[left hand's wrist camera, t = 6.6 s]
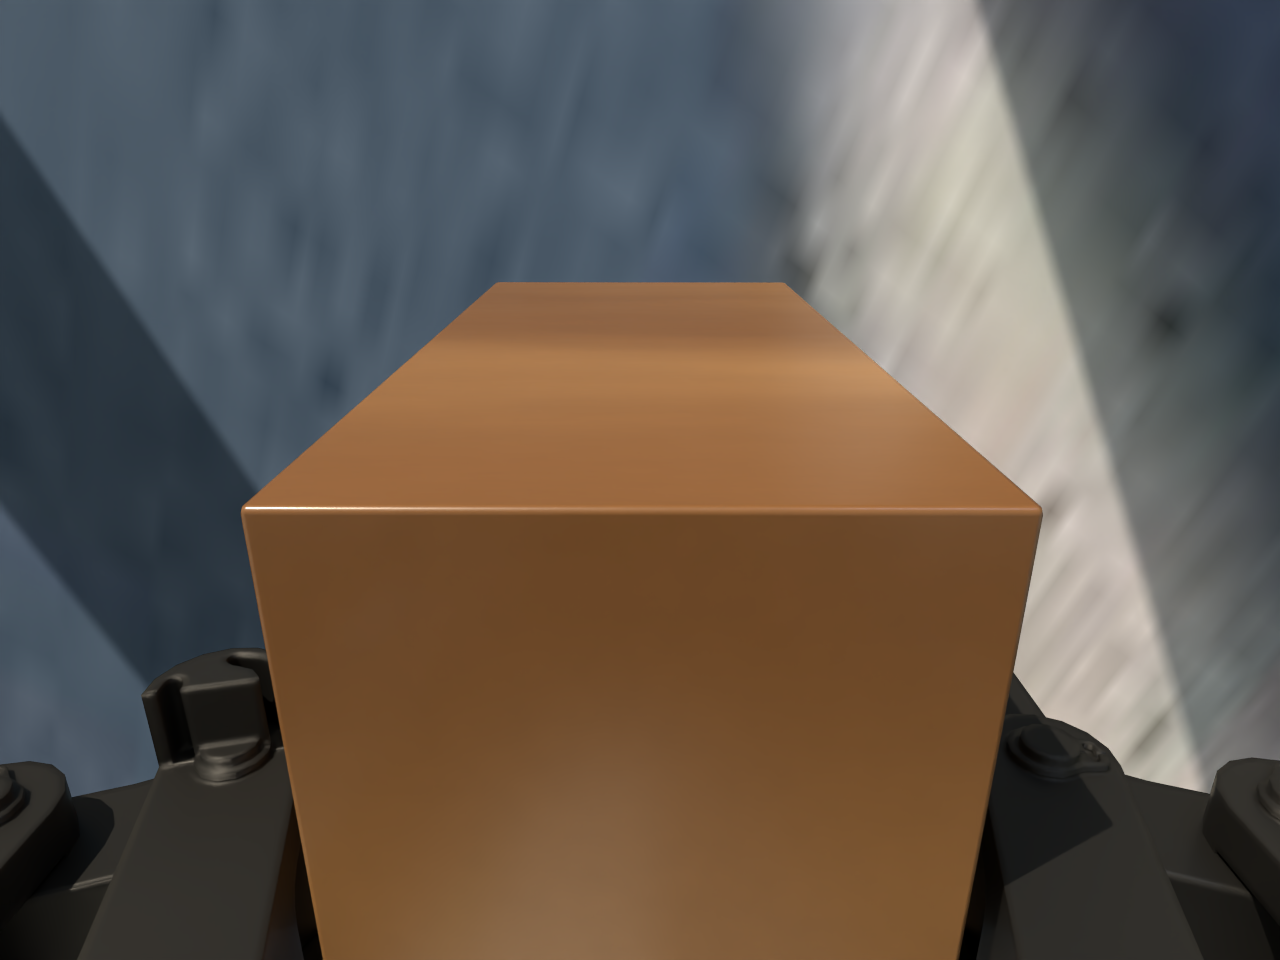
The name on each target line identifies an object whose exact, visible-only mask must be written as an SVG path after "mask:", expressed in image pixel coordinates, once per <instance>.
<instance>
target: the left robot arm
mask: <svg viewBox="0 0 1280 960" xmlns="http://www.w3.org/2000/svg"><path fill="white" fill-rule="evenodd" d="M141 697H142V701H143V704H144V708H145V712H146V716H147V720H148V724H149V728H150V732H151V736H152V740H153V744H154V748H155V752H156V756H157V760H158V764H159V769H158V771H157V773H156V776H155V778H154V779H151V780H148V781H144V782H140V783H137V784H133V785H128V786H123V787H119V788H114V789H109V790H104V791H100V792H95V793H90V794H85V795H81V796H76V797H71V794H70V790H69V787H68V784H67V781H66V777H65V775H64V774H63V773H62V772H61V771H59V770H58V769H57V768H56V767H54V766H53V765H51V764H45V763H38V762H32V761H27V762H18V763H10V764H1V765H0V960H323V957H322V951H321V946H320V941H319V935H318V930H317V924H316V919H315V913H314V908H313V903H312V897H311V892H310V886H309V881H308V875H307V870H306V865H305V859H304V854H303V848H302V843H301V838H300V832H299V827H298V821H297V816H296V810H295V805H294V800H293V794H292V789H291V783H290V778H289V773H288V767H287V762H286V756H285V751H284V745H283V740H282V735H281V729H280V724H279V718H278V713H277V707H276V702H275V697H274V691H273V686H272V680H271V675H270V670H269V664H268V659H267V653H266V650H265V649H260V648H231V649H227V650H222V651H217V652H212V653H208V654H203V655H201V656H198V657H196V658H193V659H191V660H188V661H186V662H183V663H180V664H178V665H176V666H174V667H173V668H171V669H170V670H168V671H167V672H165V673H164V674H162V675H160V676H159V677H157V678H156V679H154V681H153V682H152V683H151V684H150V685H149V687H148V688H147V689H146V690H145V691H144V692H143V694H142V695H141ZM959 960H1280V761H1277V760H1268V759H1260V758H1246V759H1240V760H1233V761H1229V762H1228V763H1227V764H1225V765H1224V766H1223V767H1222V768H1220V769H1219V770H1218V771H1217V773H1216V776H1215V780H1214V783H1213V786H1212V789H1211V793H1210V794H1208V793H1203V792H1198V791H1193V790H1188V789H1184V788H1179V787H1174V786H1169V785H1165V784H1160V783H1155V782H1150V781H1146V780H1142V779H1139V778H1135V777H1132V776H1128V775H1125V774H1124V772H1123V770H1122V767H1121V765H1120V764H1119V763H1118V761H1117V760H1116V758H1115V757H1114V756H1113V754H1112V753H1111V751H1110V750H1109V749H1108V748H1107V747H1106V746H1104V745H1103V744H1102V743H1100V742H1099V741H1098V740H1096V739H1095V738H1094V737H1092V736H1091V735H1090V734H1088V733H1087V732H1084V731H1082V730H1080V729H1078V728H1076V727H1073V726H1071V725H1069V724H1067V723H1065V722H1062V721H1059V720H1055V719H1051V718H1046V717H1045V716H1044V714H1043V713H1042V711H1041V710H1040V709H1039V707H1038V706H1037V704H1036V703H1035V702H1034V700H1033V699H1032V698H1031V696H1030V695H1029V693H1028V692H1027V691H1026V689H1025V688H1024V686H1023V685H1022V684H1021V682H1020V681H1019V680H1018V678H1017V677H1016V675H1015V674H1014V673H1013V676H1012V681H1011V686H1010V691H1009V697H1008V702H1007V707H1006V712H1005V718H1004V723H1003V728H1002V734H1001V739H1000V744H999V749H998V755H997V760H996V765H995V771H994V776H993V781H992V786H991V792H990V797H989V802H988V808H987V813H986V818H985V823H984V829H983V834H982V839H981V845H980V850H979V855H978V860H977V866H976V871H975V876H974V881H973V887H972V892H971V897H970V903H969V908H968V913H967V918H966V924H965V929H964V934H963V940H962V945H961V950H960V955H959Z"/></svg>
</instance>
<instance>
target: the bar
mask: <svg viewBox="0 0 1280 960" xmlns="http://www.w3.org/2000/svg"><path fill="white" fill-rule="evenodd" d="M1042 517H1043V512H1042V508H1041V506H1039V505H1038V504H1037V503H1036V502H1035V501H1034V500H1033V499H1031V498H1030V497H1029V496H1028V495H1027V494H1026V493H1024V492H1023V491H1022V490H1021V489H1020V488H1019V487H1018V486H1016V485H1015V484H1014V483H1013V482H1012V481H1011V480H1010V479H1008V478H1007V477H1006V476H1005V475H1004V474H1003V473H1002V472H1000V471H999V470H998V469H997V468H996V467H995V466H994V465H992V464H991V463H990V462H989V461H988V460H987V459H986V458H984V457H983V456H982V455H981V454H980V453H979V452H977V451H976V450H975V449H974V448H973V447H972V446H971V445H969V444H968V443H967V442H966V441H965V440H964V439H963V438H961V437H960V436H959V435H958V434H957V433H956V432H955V431H953V430H952V429H951V428H950V427H949V426H948V425H947V424H945V423H944V422H943V421H942V420H941V419H940V418H939V417H937V416H936V415H935V414H934V413H933V412H932V411H930V410H929V409H928V408H927V407H926V406H925V405H924V404H922V403H921V402H920V401H919V400H918V399H917V398H916V397H914V396H913V395H912V394H911V393H910V392H909V391H908V390H906V389H905V388H904V387H903V386H902V385H901V384H900V383H898V382H897V381H896V380H895V379H894V378H893V377H892V376H890V375H889V374H888V373H887V372H886V371H885V370H884V369H882V368H881V367H880V366H879V365H878V364H877V363H875V362H874V361H873V360H872V359H871V358H870V357H869V356H867V355H866V354H865V353H864V352H863V351H862V350H861V349H859V348H858V347H857V346H856V345H855V344H854V343H853V342H851V341H850V340H849V339H848V338H847V337H846V336H845V335H843V334H842V333H841V332H840V331H839V330H838V329H837V328H835V327H834V326H833V325H832V324H831V323H830V322H828V321H827V320H826V319H825V318H824V317H823V316H822V315H820V314H819V313H818V312H817V311H816V310H815V309H814V308H812V307H811V306H810V305H809V304H808V303H807V302H806V301H804V300H803V299H802V298H801V297H800V296H799V295H798V294H796V293H795V292H794V291H793V290H792V289H791V288H790V287H788V286H787V285H786V284H785V283H577V282H498V283H496V284H495V285H493V286H492V287H491V288H490V289H489V290H488V291H487V292H485V293H484V294H483V295H482V296H481V297H480V298H479V299H477V300H476V301H475V302H474V303H473V304H472V305H471V306H470V307H468V308H467V309H466V310H465V311H464V312H463V313H462V314H460V315H459V316H458V317H457V318H456V319H455V320H454V321H452V322H451V323H450V324H449V325H448V326H447V327H446V328H445V329H443V330H442V331H441V332H440V333H439V334H438V335H437V336H435V337H434V338H433V339H432V340H431V341H430V342H429V343H427V344H426V345H425V346H424V347H423V348H422V349H421V350H419V351H418V352H417V353H416V354H415V355H414V356H413V357H412V358H410V359H409V360H408V361H407V362H406V363H405V364H404V365H402V366H401V367H400V368H399V369H398V370H397V371H396V372H394V373H393V374H392V375H391V376H390V377H389V378H388V379H387V380H385V381H384V382H383V383H382V384H381V385H380V386H379V387H377V388H376V389H375V390H374V391H373V392H372V393H371V394H369V395H368V396H367V397H366V398H365V399H364V400H363V401H362V402H360V403H359V404H358V405H357V406H356V407H355V408H354V409H352V410H351V411H350V412H349V413H348V414H347V415H346V416H344V417H343V418H342V419H341V420H340V421H339V422H338V423H336V424H335V425H334V426H333V427H332V428H331V429H330V430H329V431H327V432H326V433H325V434H324V435H323V436H322V437H321V438H319V439H318V440H317V441H316V442H315V443H314V444H313V445H311V446H310V447H309V448H308V449H307V450H306V451H305V452H304V453H302V454H301V455H300V456H299V457H298V458H297V459H296V460H294V461H293V462H292V463H291V464H290V465H289V466H288V467H286V468H285V469H284V470H283V471H282V472H281V473H280V474H278V475H277V476H276V477H275V478H274V479H273V480H272V481H271V482H269V483H268V484H267V485H266V486H265V487H264V488H263V489H261V490H260V491H259V492H258V493H257V494H256V495H255V496H253V497H252V498H251V499H250V500H249V501H248V502H247V503H246V504H244V505H243V506H242V510H241V518H242V523H243V529H244V534H245V539H246V545H247V550H248V556H249V561H250V567H251V572H252V577H253V583H254V588H255V594H256V599H257V604H258V610H259V615H260V621H261V626H262V632H263V637H264V642H265V648H266V653H267V659H268V664H269V670H270V675H271V680H272V686H273V691H274V697H275V702H276V707H277V713H278V718H279V724H280V729H281V735H282V740H283V745H284V751H285V756H286V762H287V767H288V773H289V778H290V783H291V789H292V794H293V800H294V805H295V810H296V816H297V821H298V827H299V832H300V838H301V843H302V848H303V854H304V859H305V865H306V870H307V875H308V881H309V886H310V892H311V897H312V903H313V908H314V913H315V919H316V924H317V930H318V935H319V941H320V946H321V951H322V957H323V960H959V955H960V950H961V945H962V940H963V934H964V929H965V924H966V918H967V913H968V908H969V903H970V897H971V892H972V887H973V881H974V876H975V871H976V866H977V860H978V855H979V850H980V845H981V839H982V834H983V829H984V823H985V818H986V813H987V808H988V802H989V797H990V792H991V786H992V781H993V776H994V771H995V765H996V760H997V755H998V749H999V744H1000V739H1001V734H1002V728H1003V723H1004V718H1005V712H1006V707H1007V702H1008V697H1009V691H1010V686H1011V681H1012V676H1013V670H1014V665H1015V660H1016V654H1017V649H1018V644H1019V639H1020V633H1021V628H1022V623H1023V617H1024V612H1025V607H1026V602H1027V596H1028V591H1029V586H1030V580H1031V575H1032V570H1033V565H1034V559H1035V554H1036V549H1037V544H1038V538H1039V533H1040V528H1041V522H1042Z"/></svg>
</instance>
